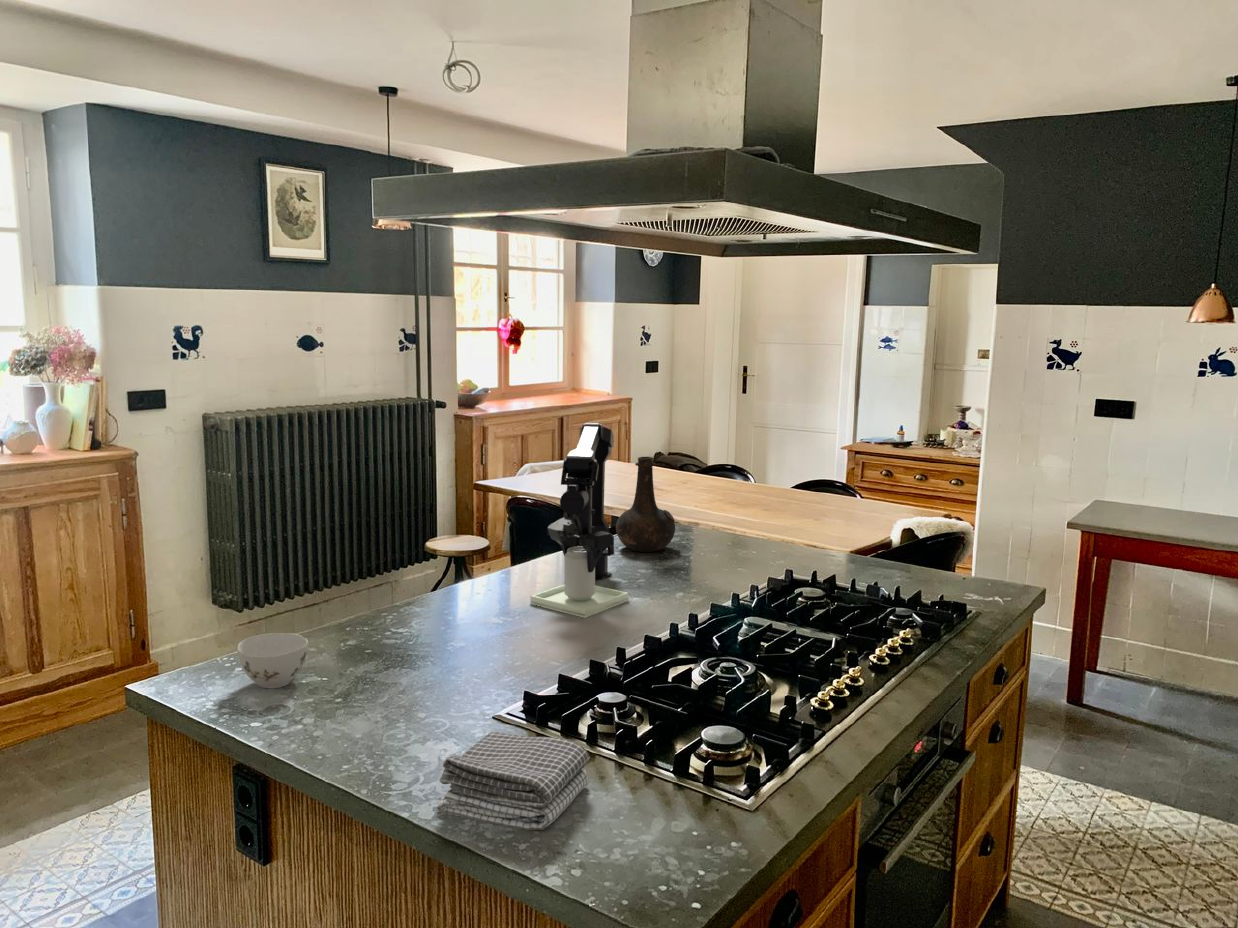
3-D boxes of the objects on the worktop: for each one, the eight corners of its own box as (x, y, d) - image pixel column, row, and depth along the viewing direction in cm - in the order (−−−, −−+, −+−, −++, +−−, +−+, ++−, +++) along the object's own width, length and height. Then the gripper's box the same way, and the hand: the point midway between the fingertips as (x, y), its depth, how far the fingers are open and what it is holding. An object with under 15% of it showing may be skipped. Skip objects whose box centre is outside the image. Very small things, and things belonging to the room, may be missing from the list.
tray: (575, 588, 240) (575, 580, 240) (628, 600, 230) (628, 592, 230) (530, 603, 226) (530, 595, 226) (585, 617, 216) (585, 609, 216)
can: (596, 592, 231) (596, 545, 229) (593, 601, 224) (593, 553, 222) (566, 591, 232) (566, 544, 230) (562, 600, 225) (562, 552, 223)
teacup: (278, 700, 168) (276, 658, 167) (223, 690, 173) (221, 649, 171) (331, 671, 182) (329, 632, 181) (279, 662, 187) (277, 624, 185)
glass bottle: (669, 558, 271) (670, 463, 267) (609, 553, 275) (610, 460, 271) (679, 543, 288) (681, 454, 284) (623, 540, 292) (624, 451, 288)
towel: (550, 838, 125) (550, 783, 124) (431, 812, 131) (430, 760, 130) (592, 786, 139) (592, 736, 138) (482, 765, 145) (482, 717, 144)
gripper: (529, 504, 226) (530, 566, 228) (580, 517, 212) (579, 583, 215) (565, 498, 233) (565, 559, 236) (615, 510, 220) (615, 574, 222)
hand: (579, 568), depth 227 cm, fingers closed on can, 7 cm apart
